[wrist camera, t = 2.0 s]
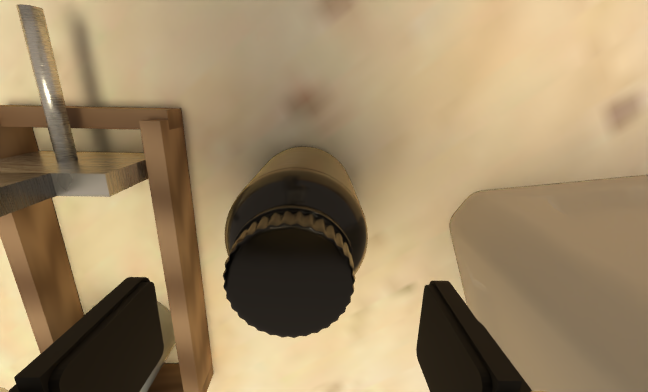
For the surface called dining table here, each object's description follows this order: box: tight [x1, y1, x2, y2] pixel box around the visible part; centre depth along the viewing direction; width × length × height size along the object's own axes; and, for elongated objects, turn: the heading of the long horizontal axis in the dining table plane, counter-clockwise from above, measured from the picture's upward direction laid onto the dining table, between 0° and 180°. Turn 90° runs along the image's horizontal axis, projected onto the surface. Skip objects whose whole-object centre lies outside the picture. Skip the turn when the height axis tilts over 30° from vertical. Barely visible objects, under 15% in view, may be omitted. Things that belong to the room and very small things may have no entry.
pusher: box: [0, 5, 148, 217], centre depth 15 cm, size 9×8×11 cm
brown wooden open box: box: [0, 105, 213, 392], centre depth 21 cm, size 23×11×6 cm, turn 179°
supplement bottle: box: [223, 147, 368, 338], centre depth 16 cm, size 7×7×12 cm
